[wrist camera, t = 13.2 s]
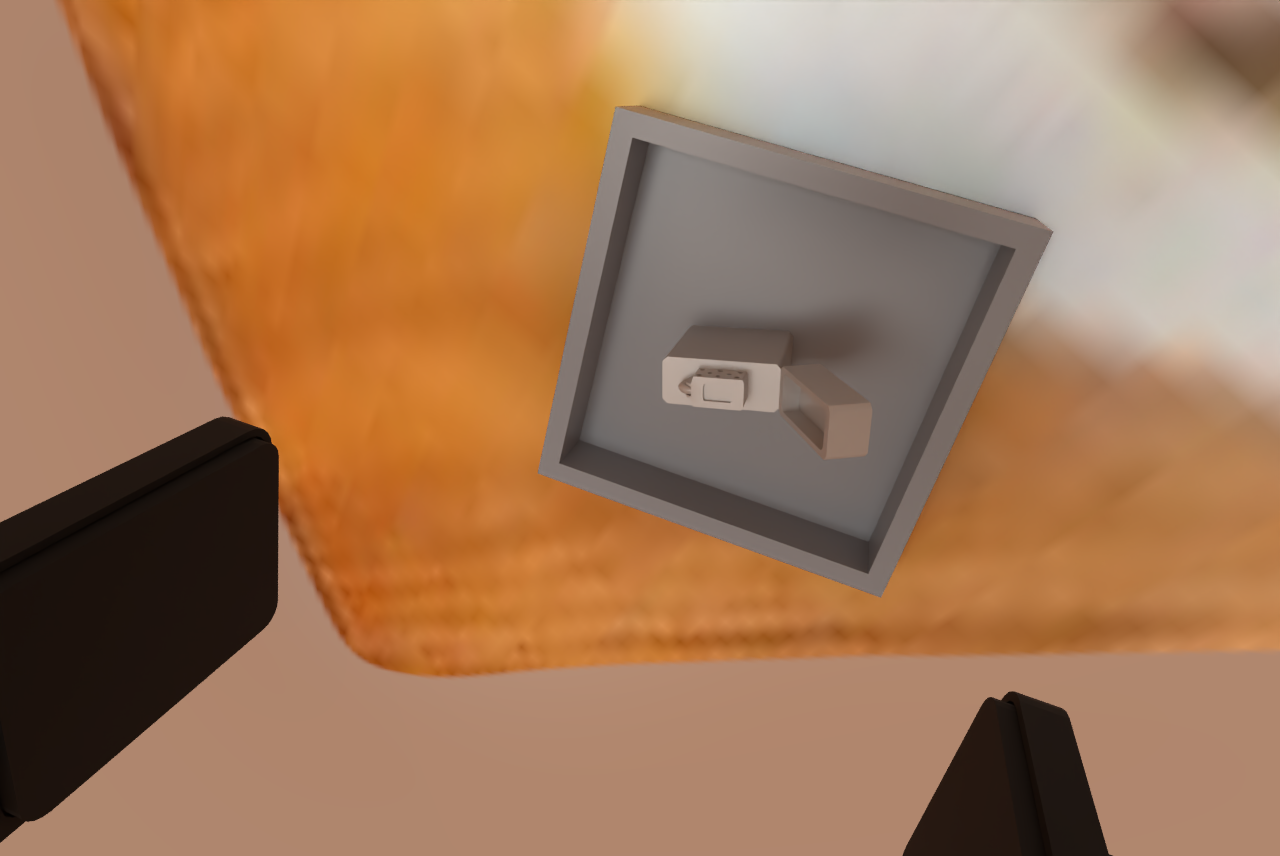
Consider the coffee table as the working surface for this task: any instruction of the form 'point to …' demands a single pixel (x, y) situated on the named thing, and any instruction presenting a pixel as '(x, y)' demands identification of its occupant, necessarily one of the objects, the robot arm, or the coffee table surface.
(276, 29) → the coffee table surface
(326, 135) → the coffee table surface
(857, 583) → the tray
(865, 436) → the lighter
